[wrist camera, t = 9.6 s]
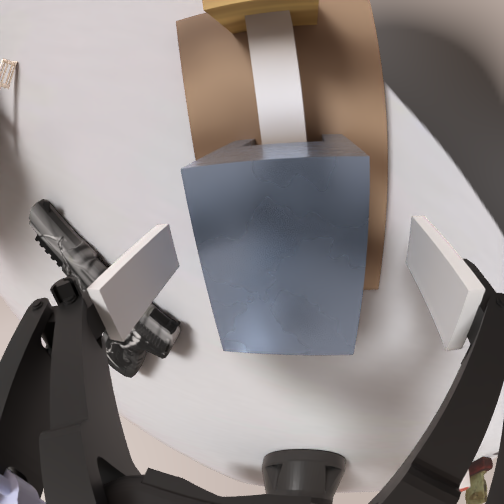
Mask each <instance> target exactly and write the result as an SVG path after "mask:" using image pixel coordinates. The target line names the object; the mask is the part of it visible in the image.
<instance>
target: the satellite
mask: <svg viewBox="0 0 504 504" xmlns="http://www.w3.org/2000/svg"><path fill="white" fill-rule="evenodd" d="M3 62H4V64H3V67H2V69H1V66H2V63H3ZM5 63H7V65H6V68H5V71H4V74H3V77H2V80H1V83H0V89H1V87H4V88H8V89H9V87H10V82H11V79H12V76H13V73H14V70H15V67H16V64H17V61H16V62H14V61H13V62H12V61H10V60H7V59H2V61H1V64H0V69H1V72H0V78H1V74H2V71H3V69H4V66H5ZM8 64H10V65H11V67H10V70H9V73H8V76H7V80H6V83H5V84H4V83H2V82H3V79H4V76H5V73H6V70H7V67H8ZM13 66H14V68H13V71H12V74H11V77H10V80H9V83H8V85H7V82H8V79H9V76H10V73H11V70H12V67H13Z"/></svg>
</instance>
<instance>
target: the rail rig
mask: <svg viewBox="0 0 504 504" xmlns="http://www.w3.org/2000/svg"><path fill="white" fill-rule="evenodd" d="M202 1H203V9H204V11H205V12H207V13H203V14H199V15H196V16H192V17H189V18H185V19H182V20H179V21H176V26H177V35H178V43H179V52H180V59H181V67H182V74H183V82H184V89H185V96H186V102H187V109H188V116H189V122H190V128H191V135H192V141H193V147H194V153H195V158H196V160H198V159H200V158H202V157H204V156H206V155H208V154H210V153H212V152H214V151H216V150H218V149H220V148H222V147H224V146H226V145H228V144H230V143H232V142H234V141H238V140H247V139H255V145H264V144H277V143H293V142H314V141H322V134H342V135H344V136H345V137H346V138H347V139H349V140H350V141H351V142H353V143H354V144H355V145H356V146H358V147H359V148H360V149H361V150H362V151H364V152H365V153H366V154H367V155H368V156H369V157H370V198H369V225H368V242H367V256H366V267H365V277H364V287H363V290H371V289H378V287H379V280H380V272H381V264H382V256H383V246H384V235H385V222H386V206H387V177H388V149H387V121H386V105H385V93H384V83H383V74H382V66H381V58H380V52H379V45H378V39H377V33H376V28H375V23H374V18H373V13H372V9H371V4H370V0H202Z"/></svg>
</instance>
